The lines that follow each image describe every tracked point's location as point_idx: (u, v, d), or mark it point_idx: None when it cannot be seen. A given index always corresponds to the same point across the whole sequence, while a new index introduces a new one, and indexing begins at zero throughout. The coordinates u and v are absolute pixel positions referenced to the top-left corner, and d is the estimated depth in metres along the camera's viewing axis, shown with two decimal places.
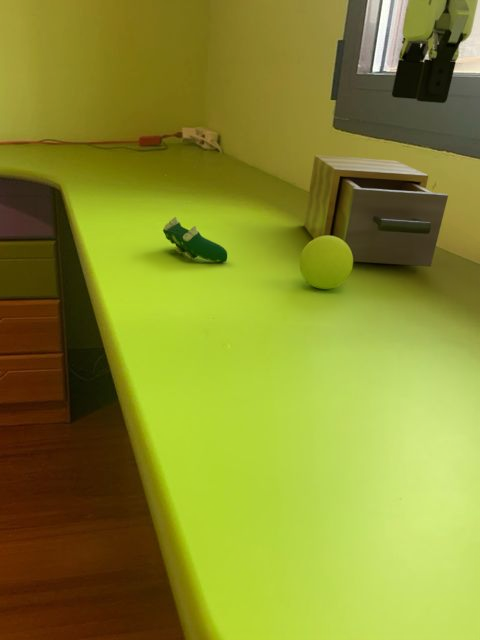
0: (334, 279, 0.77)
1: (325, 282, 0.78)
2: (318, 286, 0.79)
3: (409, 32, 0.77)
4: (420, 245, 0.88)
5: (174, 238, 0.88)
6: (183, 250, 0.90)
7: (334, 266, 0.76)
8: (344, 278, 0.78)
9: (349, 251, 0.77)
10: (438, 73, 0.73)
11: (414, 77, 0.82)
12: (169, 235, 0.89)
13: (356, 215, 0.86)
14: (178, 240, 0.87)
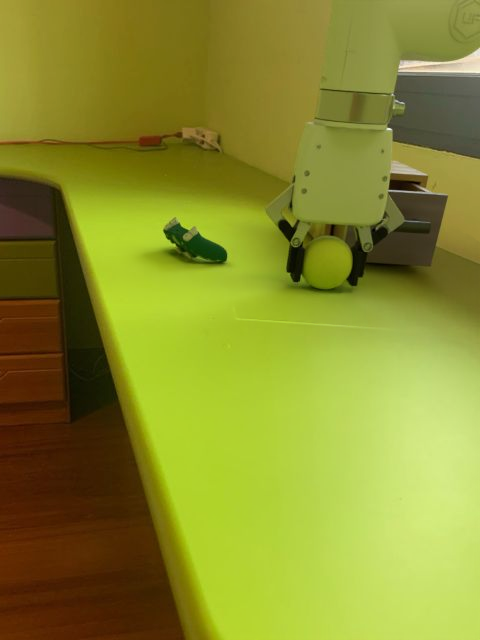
0: (334, 279, 0.77)
1: (325, 282, 0.78)
2: (318, 286, 0.79)
3: (326, 217, 0.75)
4: (420, 245, 0.88)
5: (174, 238, 0.88)
6: (183, 250, 0.90)
7: (334, 266, 0.76)
8: (344, 278, 0.78)
9: (349, 251, 0.77)
10: None
11: None
12: (169, 235, 0.89)
13: None
14: (178, 240, 0.87)
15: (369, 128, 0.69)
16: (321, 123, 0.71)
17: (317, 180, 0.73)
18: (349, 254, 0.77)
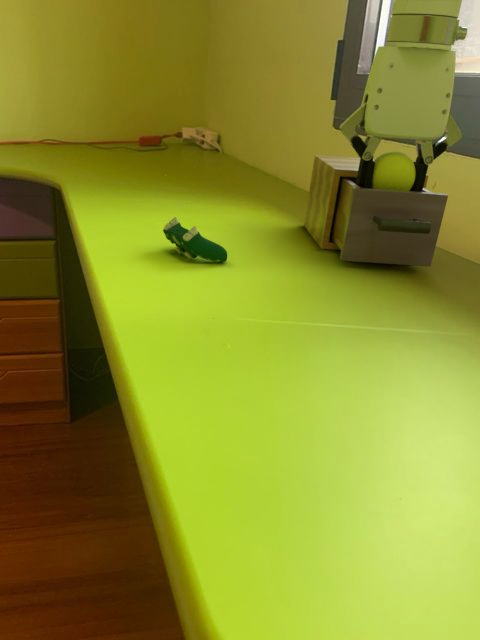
0: (399, 189, 0.87)
1: None
2: None
3: (394, 131, 0.85)
4: (420, 245, 0.88)
5: (174, 238, 0.88)
6: (183, 250, 0.90)
7: (401, 176, 0.86)
8: (408, 189, 0.88)
9: (413, 164, 0.87)
10: None
11: None
12: (169, 235, 0.89)
13: (356, 215, 0.86)
14: (178, 240, 0.87)
15: (437, 47, 0.79)
16: (394, 45, 0.81)
17: (388, 97, 0.83)
18: (413, 167, 0.87)
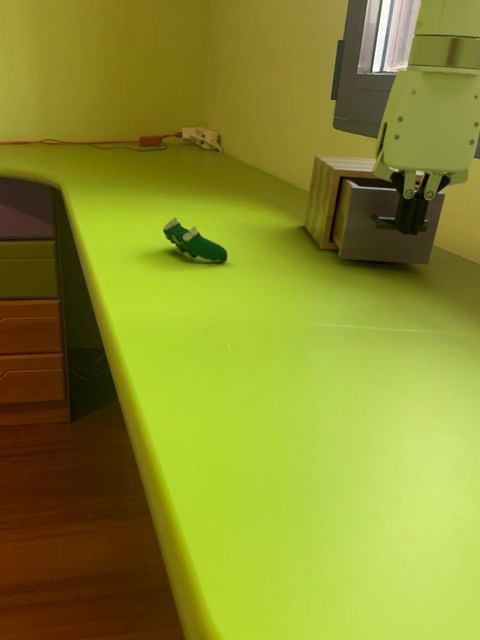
0: None
1: None
2: None
3: (416, 163, 0.76)
4: (418, 243, 0.89)
5: (174, 238, 0.88)
6: (183, 250, 0.90)
7: None
8: None
9: None
10: None
11: None
12: (169, 235, 0.89)
13: (354, 213, 0.87)
14: (178, 240, 0.87)
15: (466, 72, 0.71)
16: (417, 69, 0.72)
17: (410, 126, 0.74)
18: None
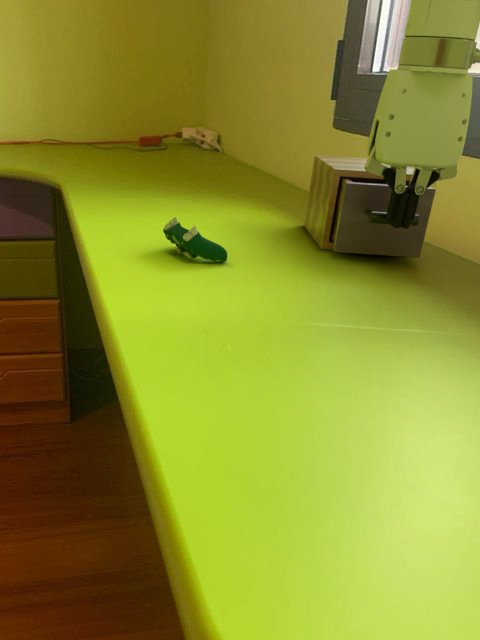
0: None
1: None
2: None
3: (407, 159, 0.80)
4: (409, 237, 0.92)
5: (174, 238, 0.88)
6: (183, 250, 0.90)
7: None
8: None
9: None
10: None
11: None
12: (169, 235, 0.89)
13: (348, 208, 0.90)
14: (178, 240, 0.87)
15: (453, 72, 0.74)
16: (407, 68, 0.76)
17: (401, 123, 0.78)
18: None
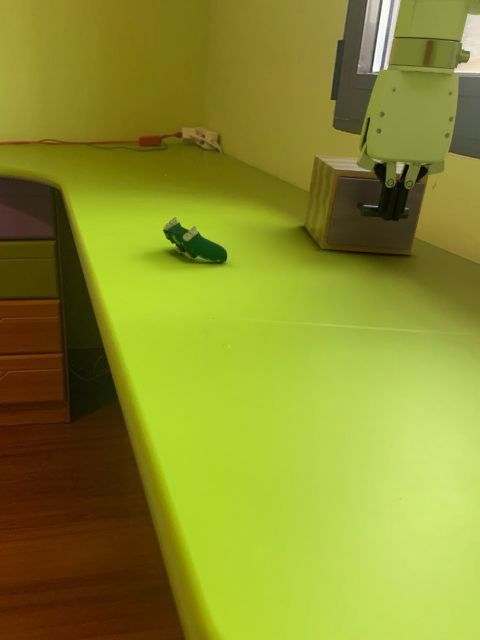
0: None
1: None
2: None
3: (397, 155, 0.83)
4: (400, 230, 0.96)
5: (174, 238, 0.88)
6: (183, 250, 0.90)
7: None
8: None
9: None
10: None
11: None
12: (169, 235, 0.89)
13: (341, 202, 0.94)
14: (178, 240, 0.87)
15: (440, 71, 0.78)
16: (396, 68, 0.79)
17: (391, 120, 0.81)
18: None
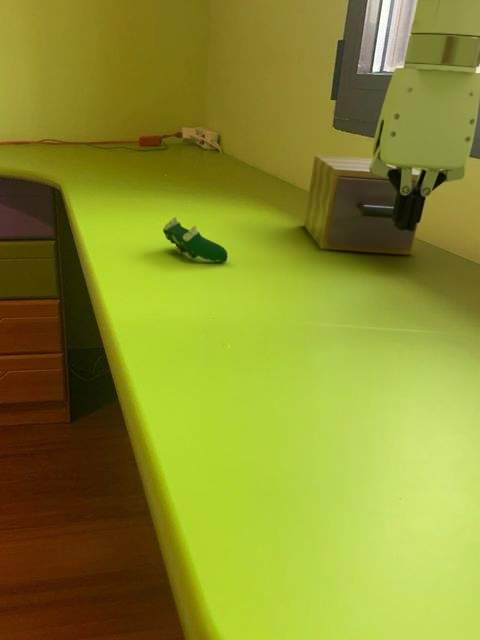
0: None
1: None
2: None
3: (413, 160, 0.78)
4: (400, 230, 0.96)
5: (174, 238, 0.88)
6: (183, 250, 0.90)
7: None
8: None
9: None
10: None
11: None
12: (169, 235, 0.89)
13: (341, 202, 0.94)
14: (178, 240, 0.87)
15: (461, 70, 0.72)
16: (413, 67, 0.74)
17: (406, 123, 0.76)
18: None
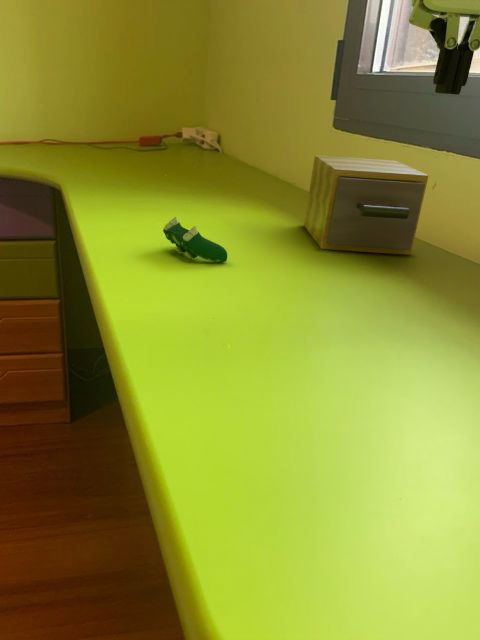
0: None
1: None
2: None
3: (461, 3, 0.67)
4: (400, 230, 0.96)
5: (174, 238, 0.88)
6: (183, 250, 0.90)
7: None
8: None
9: None
10: None
11: None
12: (169, 235, 0.89)
13: (341, 202, 0.94)
14: (178, 240, 0.87)
15: None
16: None
17: None
18: None
